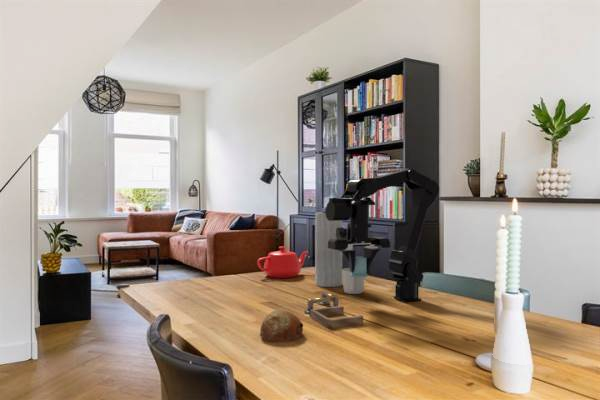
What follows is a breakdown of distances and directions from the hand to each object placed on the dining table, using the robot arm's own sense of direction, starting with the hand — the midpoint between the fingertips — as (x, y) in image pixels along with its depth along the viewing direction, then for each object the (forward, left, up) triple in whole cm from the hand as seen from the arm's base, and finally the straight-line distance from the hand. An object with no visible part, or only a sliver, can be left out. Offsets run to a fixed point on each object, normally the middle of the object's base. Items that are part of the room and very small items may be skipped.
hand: (359, 271), depth 138 cm
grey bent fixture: (+13, -2, -10) cm, 17 cm away
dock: (+14, +12, -10) cm, 21 cm away
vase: (-5, -32, -10) cm, 34 cm away
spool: (0, 0, -1) cm, 1 cm away
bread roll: (+32, +19, -11) cm, 38 cm away
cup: (-6, -15, -10) cm, 19 cm away
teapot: (+4, -56, -10) cm, 57 cm away
